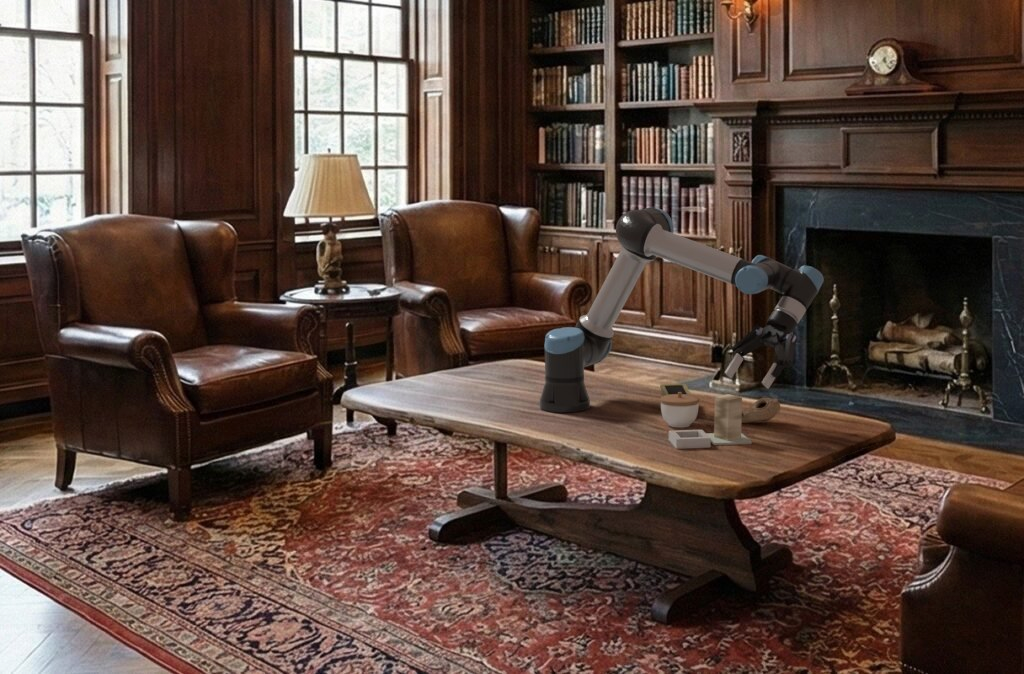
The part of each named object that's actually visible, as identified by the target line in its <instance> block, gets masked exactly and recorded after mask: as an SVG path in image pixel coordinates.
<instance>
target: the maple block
mask: <svg viewBox="0 0 1024 674" xmlns="http://www.w3.org/2000/svg"><path fill="white" fill-rule="evenodd" d="M742 408H743V397H742V396H737V395H733V394H729V393H727V394H722V395H717V396H714V415H713V416H714V423H713V425H714V427H713V433H714V437H716V438H719V439H723V440H726V441H729V440H734V439H738V438H741V433H742V423H741V422H742V411H743V410H742Z"/></svg>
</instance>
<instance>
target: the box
mask: <svg viewBox="0 0 1024 674" xmlns="http://www.w3.org/2000/svg"><path fill="white" fill-rule="evenodd" d="M659 385H660V395H661V397H662V396H665V395H670V394H678V392H682V394H687V395H692V393H691V391H690V390H689V387H688V386H687V384H686V383H663V384H662V383H661V384H659Z"/></svg>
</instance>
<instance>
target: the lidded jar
mask: <svg viewBox="0 0 1024 674" xmlns="http://www.w3.org/2000/svg"><path fill="white" fill-rule="evenodd" d="M699 403H700V398H699V397H698V396H695V395H692V394H691V395H687V394H682V392H678V394H670V395H665V396H662V395H661V397H660V412H661V413H660V414H661V416H662V418H663V420H664V421H665V422H666V423H667V424H668V426H669V427H672V428H688V427H691V425H692V424H693V423H694V422H695V420H696V419H697V417H698V413H699Z"/></svg>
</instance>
